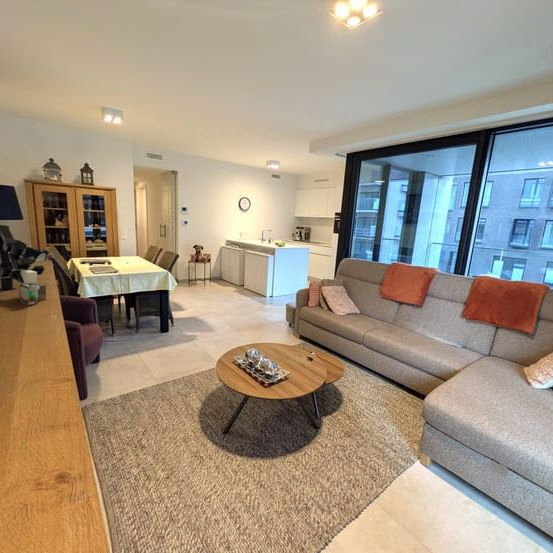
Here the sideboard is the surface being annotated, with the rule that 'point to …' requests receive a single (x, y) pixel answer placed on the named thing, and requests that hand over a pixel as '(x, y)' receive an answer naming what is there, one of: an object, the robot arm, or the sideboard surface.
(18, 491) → the sideboard surface
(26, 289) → the food container
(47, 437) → the sideboard surface
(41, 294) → the dispenser
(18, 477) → the sideboard surface
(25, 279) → the white upright block
